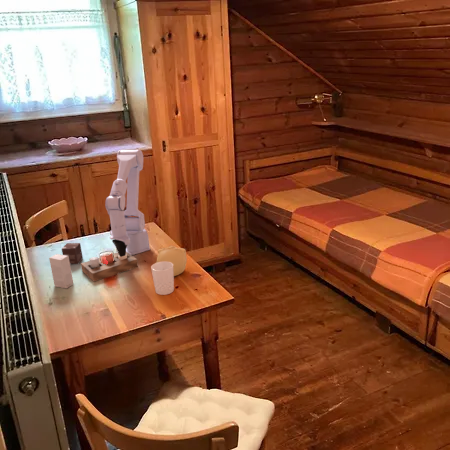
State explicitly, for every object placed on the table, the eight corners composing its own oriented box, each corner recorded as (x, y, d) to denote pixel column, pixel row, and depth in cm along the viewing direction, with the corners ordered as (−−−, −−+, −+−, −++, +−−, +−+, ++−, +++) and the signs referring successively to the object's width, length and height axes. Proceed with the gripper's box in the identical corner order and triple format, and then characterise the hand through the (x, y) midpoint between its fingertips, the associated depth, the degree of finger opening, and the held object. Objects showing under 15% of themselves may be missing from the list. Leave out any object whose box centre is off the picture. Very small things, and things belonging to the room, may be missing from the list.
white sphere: (97, 265, 199) (96, 256, 198) (101, 267, 197) (99, 258, 195) (89, 267, 197) (88, 258, 196) (92, 270, 195) (91, 261, 193)
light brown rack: (125, 257, 211) (124, 250, 210) (138, 266, 202) (137, 259, 201) (82, 271, 201) (80, 263, 199) (93, 281, 192) (92, 273, 190)
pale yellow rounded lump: (189, 266, 200) (187, 241, 197) (183, 279, 189) (181, 253, 185) (162, 265, 202) (159, 241, 198) (154, 279, 191) (151, 253, 187)
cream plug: (125, 261, 207) (124, 253, 205) (129, 264, 204) (128, 255, 203) (117, 264, 205) (116, 255, 203) (121, 266, 202) (120, 258, 201)
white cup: (158, 297, 177) (155, 272, 173) (150, 289, 183) (148, 264, 180) (178, 292, 180) (176, 267, 177) (170, 283, 187) (168, 259, 183)
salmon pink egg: (111, 260, 203) (110, 252, 201) (115, 263, 200) (113, 254, 199) (103, 263, 201) (102, 254, 199) (107, 266, 198) (105, 257, 197)
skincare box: (74, 284, 190) (69, 255, 186) (66, 289, 187) (61, 260, 183) (61, 281, 193) (56, 253, 189) (54, 286, 189) (48, 257, 185)
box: (83, 258, 213) (80, 242, 210) (78, 264, 207) (75, 248, 205) (69, 258, 213) (66, 242, 211) (64, 264, 208) (61, 248, 205)
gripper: (101, 222, 202) (106, 253, 206) (116, 232, 191) (121, 264, 195) (117, 218, 205) (121, 248, 210) (133, 227, 194) (137, 259, 199)
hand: (122, 255), depth 203 cm, fingers closed, pressing on cream plug
